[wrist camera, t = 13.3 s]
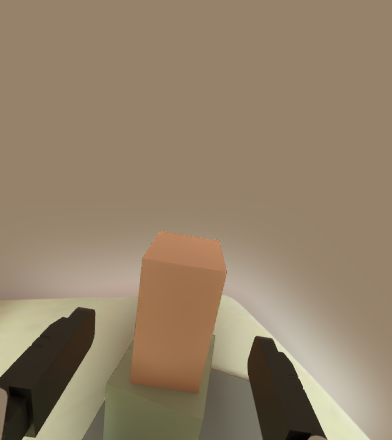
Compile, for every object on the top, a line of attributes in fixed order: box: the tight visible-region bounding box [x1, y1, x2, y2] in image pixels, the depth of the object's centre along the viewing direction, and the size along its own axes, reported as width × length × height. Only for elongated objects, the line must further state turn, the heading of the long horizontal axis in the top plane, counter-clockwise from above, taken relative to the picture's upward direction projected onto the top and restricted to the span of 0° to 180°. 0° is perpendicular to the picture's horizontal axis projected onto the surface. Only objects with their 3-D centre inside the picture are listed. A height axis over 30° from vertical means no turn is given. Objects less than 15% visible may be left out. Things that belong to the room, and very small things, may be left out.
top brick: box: [130, 231, 227, 394], centre depth 15 cm, size 5×5×10 cm
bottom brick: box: [103, 335, 215, 440], centre depth 17 cm, size 7×7×6 cm
